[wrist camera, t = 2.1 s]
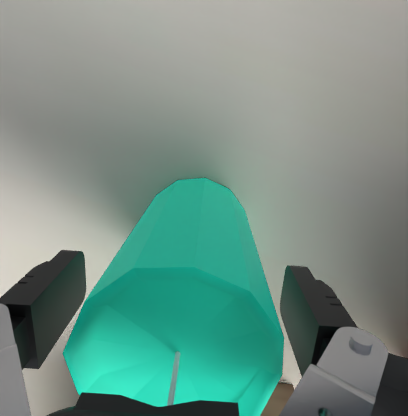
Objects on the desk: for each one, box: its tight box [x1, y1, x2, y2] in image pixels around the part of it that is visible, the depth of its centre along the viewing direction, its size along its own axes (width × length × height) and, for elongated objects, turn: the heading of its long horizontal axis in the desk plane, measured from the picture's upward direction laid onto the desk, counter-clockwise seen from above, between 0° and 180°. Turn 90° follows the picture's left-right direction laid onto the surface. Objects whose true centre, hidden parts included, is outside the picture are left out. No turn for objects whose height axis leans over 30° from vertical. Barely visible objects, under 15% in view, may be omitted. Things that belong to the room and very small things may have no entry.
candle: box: [63, 178, 284, 416], centre depth 13 cm, size 6×6×12 cm
